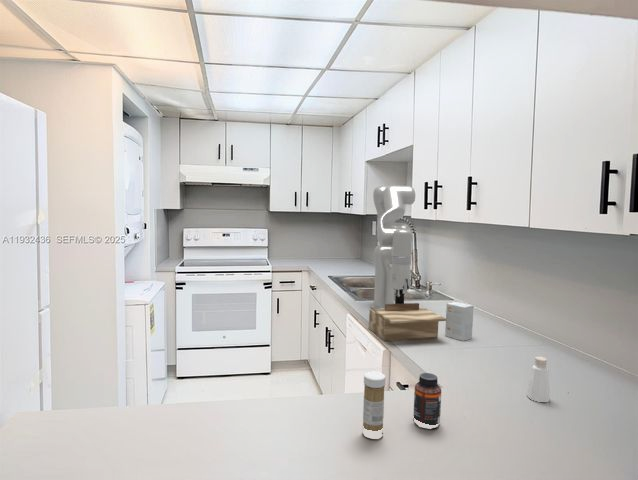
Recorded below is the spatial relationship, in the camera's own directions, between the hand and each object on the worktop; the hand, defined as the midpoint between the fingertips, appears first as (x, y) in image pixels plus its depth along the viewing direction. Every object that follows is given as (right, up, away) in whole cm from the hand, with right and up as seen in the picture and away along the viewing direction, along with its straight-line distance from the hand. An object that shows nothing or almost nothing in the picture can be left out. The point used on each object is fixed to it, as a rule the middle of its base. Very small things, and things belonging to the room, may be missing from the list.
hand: (399, 305), depth 166 cm
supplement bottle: (-8, -16, -71) cm, 74 cm away
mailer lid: (+2, -3, -8) cm, 9 cm away
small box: (+22, -12, -5) cm, 25 cm away
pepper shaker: (+26, -16, -57) cm, 64 cm away
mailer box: (+1, -11, -3) cm, 11 cm away
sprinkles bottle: (-21, -16, -77) cm, 81 cm away
